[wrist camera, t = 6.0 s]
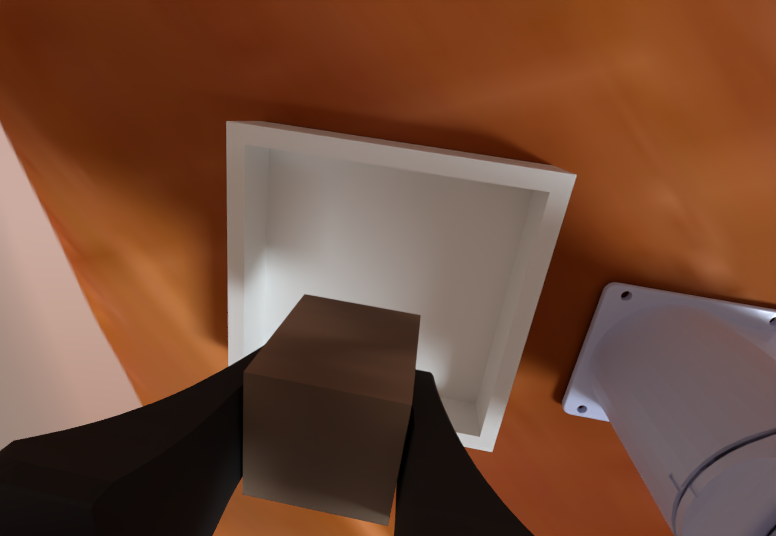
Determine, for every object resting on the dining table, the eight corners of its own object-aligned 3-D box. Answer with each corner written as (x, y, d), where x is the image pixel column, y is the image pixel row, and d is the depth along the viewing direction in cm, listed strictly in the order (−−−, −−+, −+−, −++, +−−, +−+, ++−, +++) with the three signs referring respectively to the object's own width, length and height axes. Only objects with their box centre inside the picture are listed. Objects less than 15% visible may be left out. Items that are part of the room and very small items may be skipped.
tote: (552, 165, 18) (576, 175, 15) (484, 406, 23) (492, 452, 20) (262, 120, 19) (226, 121, 16) (257, 361, 24) (228, 399, 21)
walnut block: (420, 315, 13) (412, 404, 9) (402, 410, 15) (388, 526, 10) (304, 294, 13) (243, 372, 9) (297, 389, 15) (242, 494, 11)
